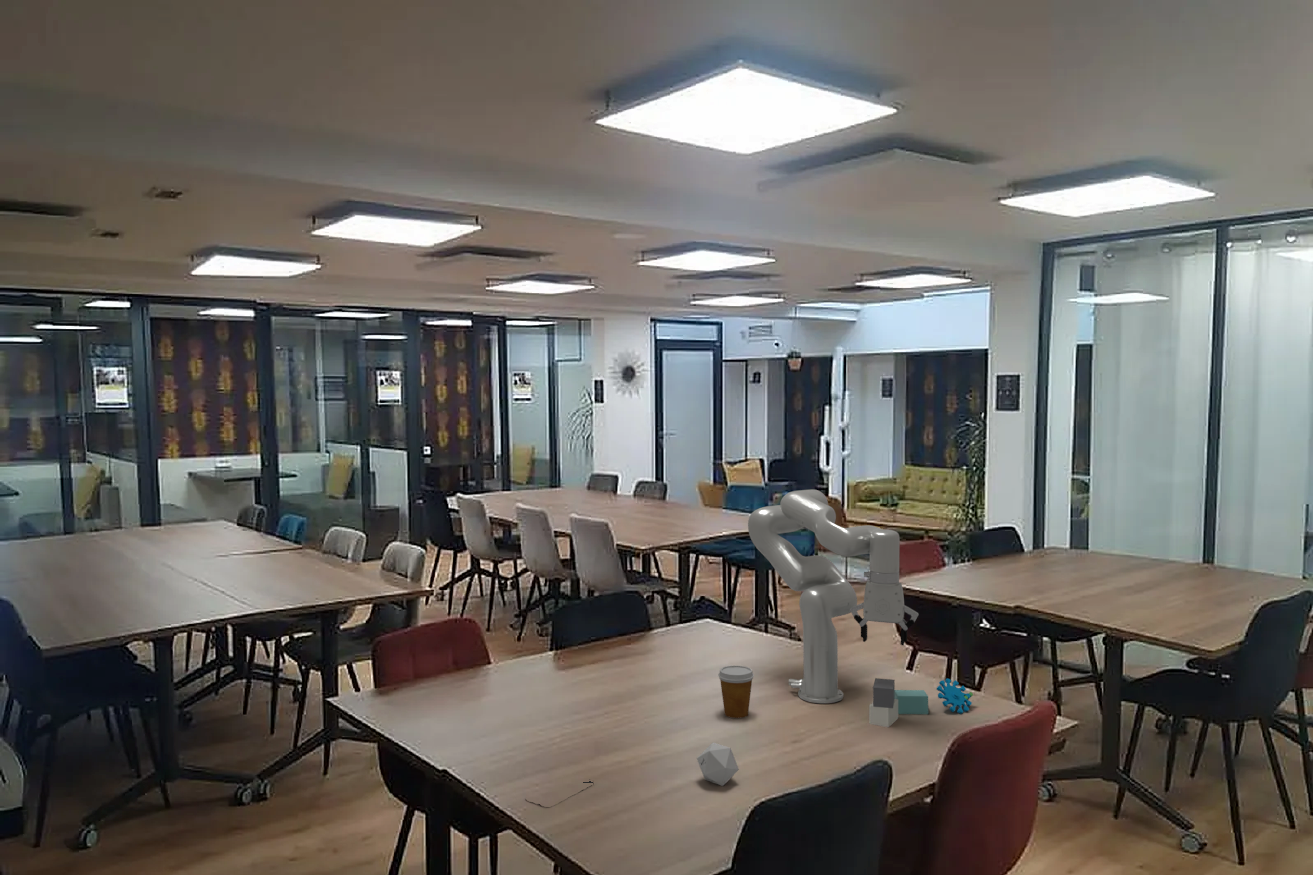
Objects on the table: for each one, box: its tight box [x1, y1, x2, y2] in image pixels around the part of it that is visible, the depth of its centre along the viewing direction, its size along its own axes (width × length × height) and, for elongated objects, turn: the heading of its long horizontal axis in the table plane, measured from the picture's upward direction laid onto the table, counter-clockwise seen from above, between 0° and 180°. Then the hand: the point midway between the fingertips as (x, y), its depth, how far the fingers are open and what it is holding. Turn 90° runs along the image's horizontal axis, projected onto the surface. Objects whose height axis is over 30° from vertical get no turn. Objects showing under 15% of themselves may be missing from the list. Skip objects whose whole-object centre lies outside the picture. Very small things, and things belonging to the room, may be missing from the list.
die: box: [696, 742, 740, 787], centre depth 201 cm, size 8×9×10 cm
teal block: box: [895, 689, 929, 715], centre depth 243 cm, size 8×5×5 cm, turn 86°
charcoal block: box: [872, 677, 896, 708], centre depth 236 cm, size 8×5×5 cm, turn 163°
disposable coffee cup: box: [717, 665, 755, 719], centre depth 242 cm, size 10×10×12 cm
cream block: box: [868, 699, 899, 728], centre depth 236 cm, size 8×5×5 cm, turn 147°
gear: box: [936, 678, 974, 715], centre depth 245 cm, size 11×6×10 cm
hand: (883, 642), depth 237 cm, fingers open, 9 cm apart
